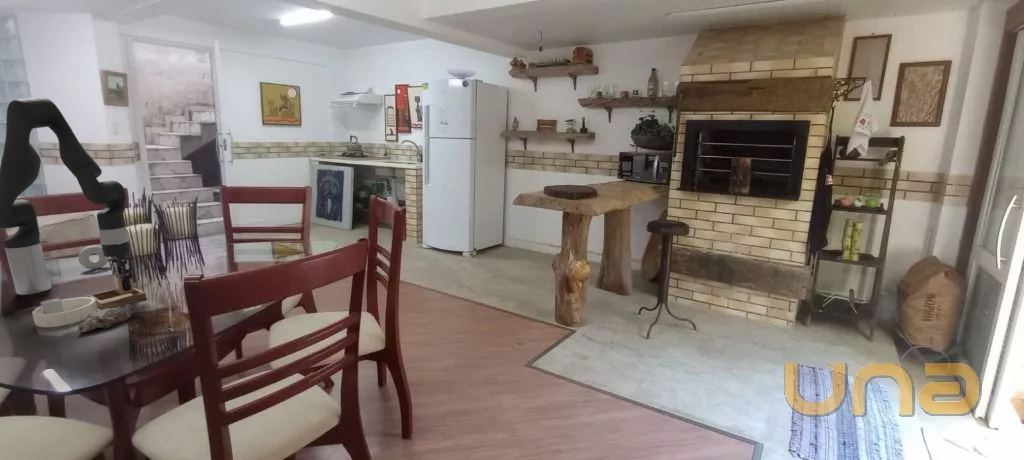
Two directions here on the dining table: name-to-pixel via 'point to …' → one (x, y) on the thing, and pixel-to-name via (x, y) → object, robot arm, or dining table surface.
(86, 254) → the donut
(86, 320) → the mineral rock
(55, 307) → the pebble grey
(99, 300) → the walnut tray
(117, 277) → the tan block
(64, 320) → the cream bowl
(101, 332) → the dining table surface
